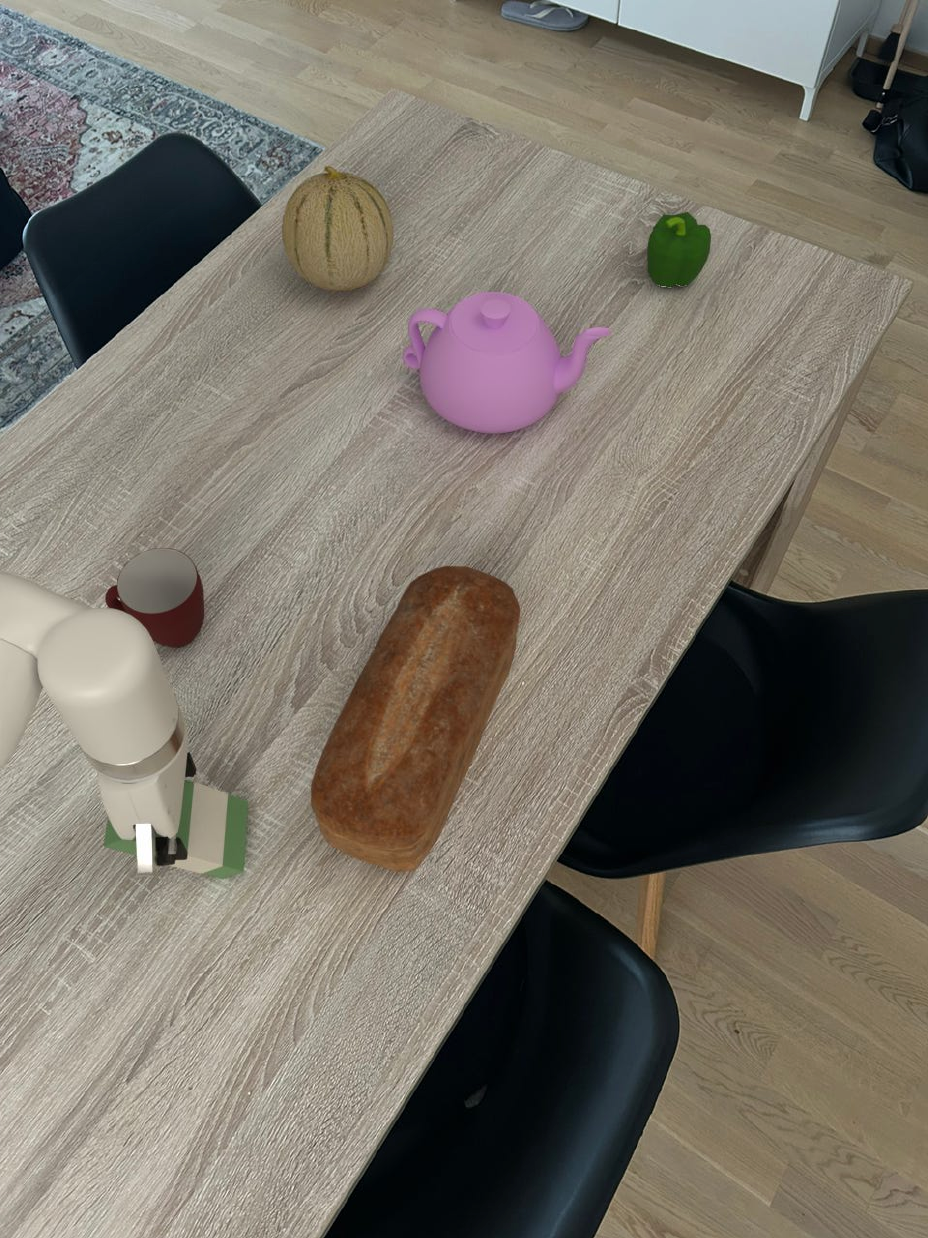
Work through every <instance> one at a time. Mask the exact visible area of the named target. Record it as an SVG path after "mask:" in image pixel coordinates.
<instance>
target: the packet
mask: <svg viewBox="0 0 928 1238" xmlns="http://www.w3.org/2000/svg"><path fill="white" fill-rule="evenodd" d="M248 812H249V800H247V799H244V798H242V797H238V796H236V795H232V794H229V793H228V792H225V791H222V790H219V789H216V788H213V787H210V786H207V785H204V784H202V783H199V782H195V781H191V780H188V779H185V781H184V790H183V799H182V807H181V815H180V823H179V828H178V832H177V833H176V834H175V835H176V837H179V838H180V839H181V841H182V842H183V844H184V846H185V848H186V850H187V852H188V856H187V859H186V860H175V864H173V865H169V866H170V867H173V868H178V869H182V870H185V871H188V872H192V873H195V874H200V875H206V876H209V877H213V878H217V879H221V880H225V879H228V878H230V877H234V876H236V875H238V874H242V873H244V872H245V858H246V845H247V844H246V842H247V829H248ZM106 821H107V822H106V827H105V834H104V839H103V841H104V842H103V848H104V849H105V848H106V849H110V850H113V851H117V852H121V853H124V854H128V855H132V856H135V857H137V846H136V836H135V837H134V839H133V840H125V839H121V838H120V837H119V836H118V834H117V833H116V831H115V829H114V828H113V826H112V824H111V822H110V820H109V817H108V816H107V820H106ZM135 829H136V827H135ZM155 837H164V836H161V835H159V834H157V833H155Z"/></svg>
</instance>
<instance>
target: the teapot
mask: <svg viewBox="0 0 928 1238" xmlns="http://www.w3.org/2000/svg"><path fill="white" fill-rule="evenodd" d="M419 323H427V324H432V325H434V326H435V327H434V329H433V330H432V331H431V334H430V335H429V337H428V340H427V342H426V344H425V342H424V339H423V337H422V333H421V330H420V327H419V325H420V324H419ZM611 333H612V330H611V328H609V327H603V326H595V327H590V328H586V329H584V330H582V331H581V332H580V333H579V334H577V336H576V338H575V340H574V342H573V347H572V350H571V353H569V354H568V355H565V356H562V355H561V351H560V347H559V345H558V343H557V341H556V337H555V335H554V334H553V332H552V330H551V329H550V327H549V326H548V324H547V323H546V321H545V320H544V318H543V317H542V316H541V315H540V314H539V312H538V311H537V310H536V309H535V308H534V307H533V306H532V305H531V304H530V303H529V302H527V301H526V300H524V299H523V298H521V297H519V296H516V295H514V294H511V293H507V292H501V291H483V292H479V293H474V294H472V295H468V296H467V297H465V298H462V300H460V301H459V302H458V303H457V304H455V305H454V306H453V307H452V308H450V310H449V311H448V312H447V313H445V312H443V311H442V310H440V309H436V308H434V307H433V308H432V307H425V308H420V309H417V310H416V311H415V312H413V313H412V314H411V316H410V317H409V320H408V323H407V334H408V337H409V341H410V344H409V345H407V346H406V347H405V348H404V350H403V351H402V361H403V363H404V364H405V365H406V366H407V367H408V368H410V369H412V370H414V371H415V370H416V371H418V370H419V382H420V384H419V385H420V388H421V391H422V394H423V396H424V398H425V399H426V401H427V403H428V404H429V405H430V407H431V408H432V410H434V411H435V412H436V414H438V415H439V416H440V417H441V418H442V419H444V420H446V421H448V422H449V423H451V424H452V425H455V426H457V427H459V428H461V429H464V430H467V431H469V432H473V431H474V432H473V433H477V434H478V433H479V434H485V435H498V434H500V433H501V434H506V433H512V432H515V431H516V432H517V431H519V430H522V429H524V428H526V427H529V426H531V425H533V424H535V423H536V422H538V421H539V420H541V419H542V418H544V417H545V416H546V415H547V414H548V413H549V412H550V411H551V409H552V408H553V407H554V405H555V404H556V402H557V401H558V399H559V397H560V394H561V393H562V394H563V393H564V392H567V391H569V390H570V389H572V388H574V387H575V386H576V384H577V383H578V382H579V381H580V379H581V377H582V376H583V373H584V371H585V369H586V363H587V359H588V354H589V351H590V348H591V347H592V345H593V344H594V343H595V342H596V341H599V340H600V339H602V338H605V337H607V336H609V335H610V334H611Z"/></svg>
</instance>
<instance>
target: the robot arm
mask: <svg viewBox="0 0 928 1238" xmlns="http://www.w3.org/2000/svg"><path fill="white" fill-rule="evenodd" d="M43 689H44V692H45V694H46V695H47V696H48V698H49V700H50V701H51V703H52V705H53V706H54V708H55V709H56V711H57V712H58V713H57V714H58V715H59V716H60V717H61V719H62V721H63V722H64V724H65V725H66V727H67V729H68V730H69V732H70V734H71V735H72V737H73V739H74V740H75V741H76V743H77V746H78V747H79V748H80V750H81V751H82V753H83V755H84V757H85V758H86V759H87V761H88V763H89V764H90V766H91V767H92V768H93V769H94V770H95V771H96V772H97V775H96V776H97V786H98V791H99V795H100V798H101V802H102V805H103V808H104V810H105V812H106V815H107V818H108V817H109V820H110V822H111V824H112V826H113V828H114V829H115V831H116V833H117V834H118V836H119V837H120V838H121V839H125V840H133V839H134V837H135V836H136V846H137V856H136V870H137V871H136V872H137V877H139V878H142V877H143V878H145V877H146V878H147V877H148V878H149V877H150V878H151V877H155V876H156V874H157V873H158V871H159V867H164V866H170V865H173V864H175V860H186V859H187V856H188V852H187V850H186V848H185V846H184V844H183V842H182V841H181V839H180V838H179V837H176V835H175V834H176V833H177V832H178V828H179V823H180V815H181V807H182V799H183V790H184V781H185V780H186V778H193V777H195V776H196V775H197V766H196V764H195V761H194V758H193V757H192V754H191V752H190V751H189V752H188V749H189V732H188V726H187V724H186V721H185V718H184V716H183V713H182V710H181V708H180V705H179V702H178V700H177V695H176V693H175V692H174V690H173V688H172V685H171V683H170V680H169V678H168V675H167V673H166V670H165V667H164V665H163V662H162V659H161V657H160V654H159V652H158V650H157V646H156V644H155V642H154V641H153V640H152V638H151V636H150V634H149V633H148V631H147V629H146V628H145V627H144V626H143V625H142V624H141V623H140V622H139V621H138V620H137V619H136V618H134V617H133V616H131V615H129V614H127V613H125V612H123V611H120V610H116V609H112V608H109V607H91V606H89V605H86V604H84V603H82V602H79V601H77V600H75V599H72V598H69V597H67V596H64V595H62V594H61V593H58V592H57V591H54V590H51V589H49V588H47V587H44V586H43V585H40V584H39V583H38V582H37V581H35V580H33V579H31V578H29V577H27V576H25V575H23V574H20V573H18V572H13V571H0V771H1V770H2V769H3V768H5V767H6V765H7V764H8V763H9V762H10V761H11V760H12V758H13V756H14V755H15V754H16V751H17V749H18V747H19V745H20V743H21V741H22V739H23V737H24V734H25V732H26V729H27V727H28V725H29V723H30V720H31V717H32V715H33V714H34V710H35V708H36V706H37V704H38V701H39V699H40V696H41V694H42V692H43ZM135 827H136V829H135ZM155 833H157V834H159V835H161V836H164V837H155Z"/></svg>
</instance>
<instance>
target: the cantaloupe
mask: <svg viewBox="0 0 928 1238" xmlns="http://www.w3.org/2000/svg"><path fill="white" fill-rule="evenodd" d="M286 203H287V204H286V206H285V210H284V213H283V217H282V224H281V237H282V245H283V249H284V252H285V255H286V257H287V259H288V261H289V264H290V265H291V266H292V268H293V269H294V271H296V273H297V274H299V275H300V277H302V279H304V280H305V281H306V282H308V283H309V284H310V285H312V286H315V287H317V288H319V289H322V290H325V291H329V292H331V291H333V292H334V291H335V292H336V291H337V292H350V291H352V290H356V289H359V288H363V287H364V286H367V285H368V284H370V283H371V282H372V281H373V280H375V279H376V278H377V277H378V276H379V275H380V274H381V273H382V272H383V270H384V269H385V268H386V266H387V264H388V263H389V260H390V257H391V253H392V250H393V246H394V225H393V217H392V213H391V210H390V208H389V205H388V203H387V201H386V199H385V198H384V196H383V195H382V193H381V192H380V191H379V189H378V188H377V187H376V186H374V184H373V183H371V182H370V181H368V180H367V179H365V178H363V177H361V176H358V175H355V174H352V173H350V172H346V171H345V172H344V171H340V172H338V171H337V170H336V169H335V168H334V167H332V166H330V165H325V166H324V172H322V173H317V174H314V175H312V176H310V177H308V178H306V179H305V180H303V181H302V182H301V183H300V184H298V185H297V186H296V188H295V189H294V190H293V192H292V193H291V195H290V197H289V199H288V200H287V202H286Z"/></svg>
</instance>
